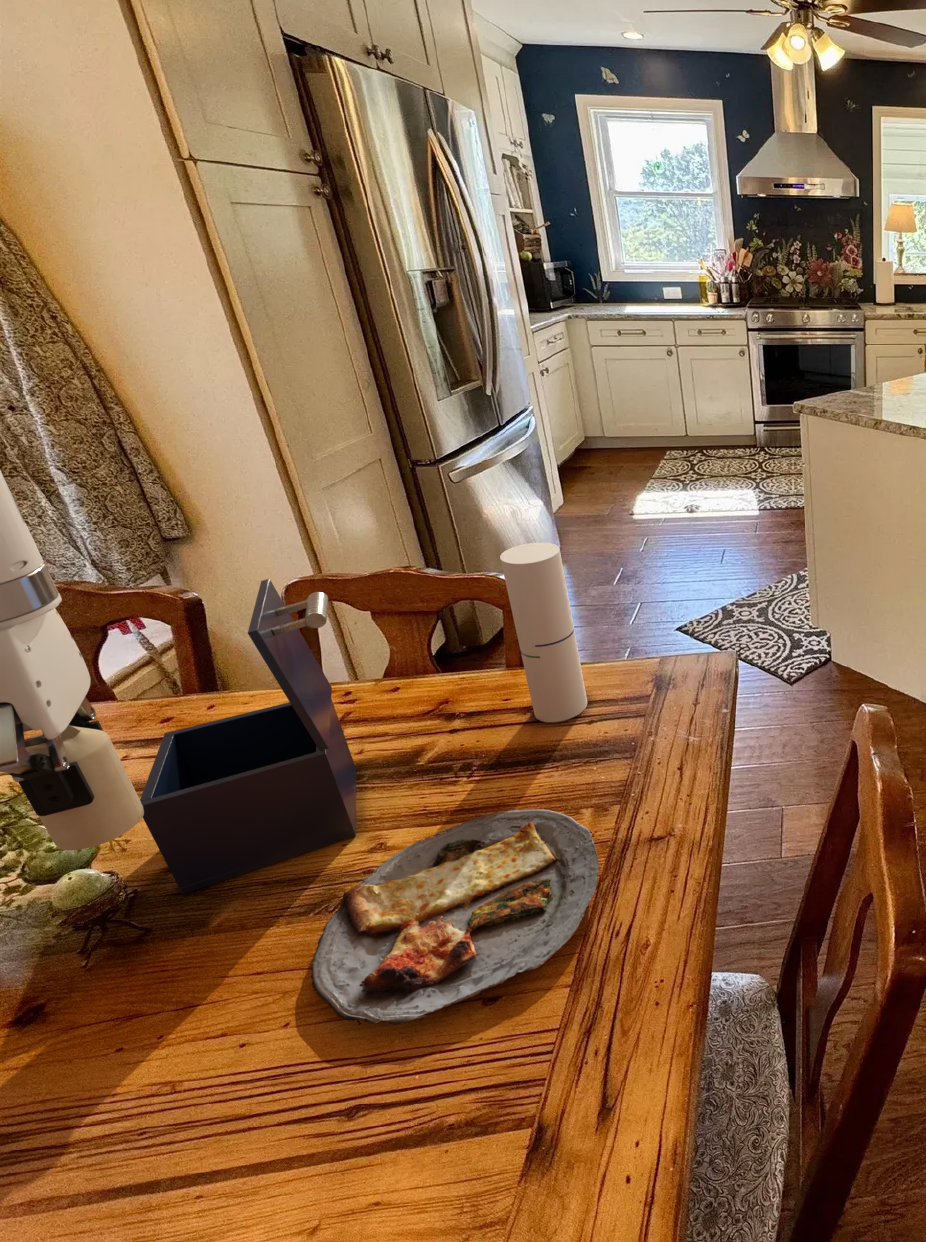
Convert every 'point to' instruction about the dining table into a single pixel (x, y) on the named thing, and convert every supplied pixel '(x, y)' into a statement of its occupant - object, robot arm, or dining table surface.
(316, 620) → the lid
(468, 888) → the food plate
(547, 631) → the cylindrical container
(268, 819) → the navy blue box
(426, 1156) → the dining table surface
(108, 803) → the candle
